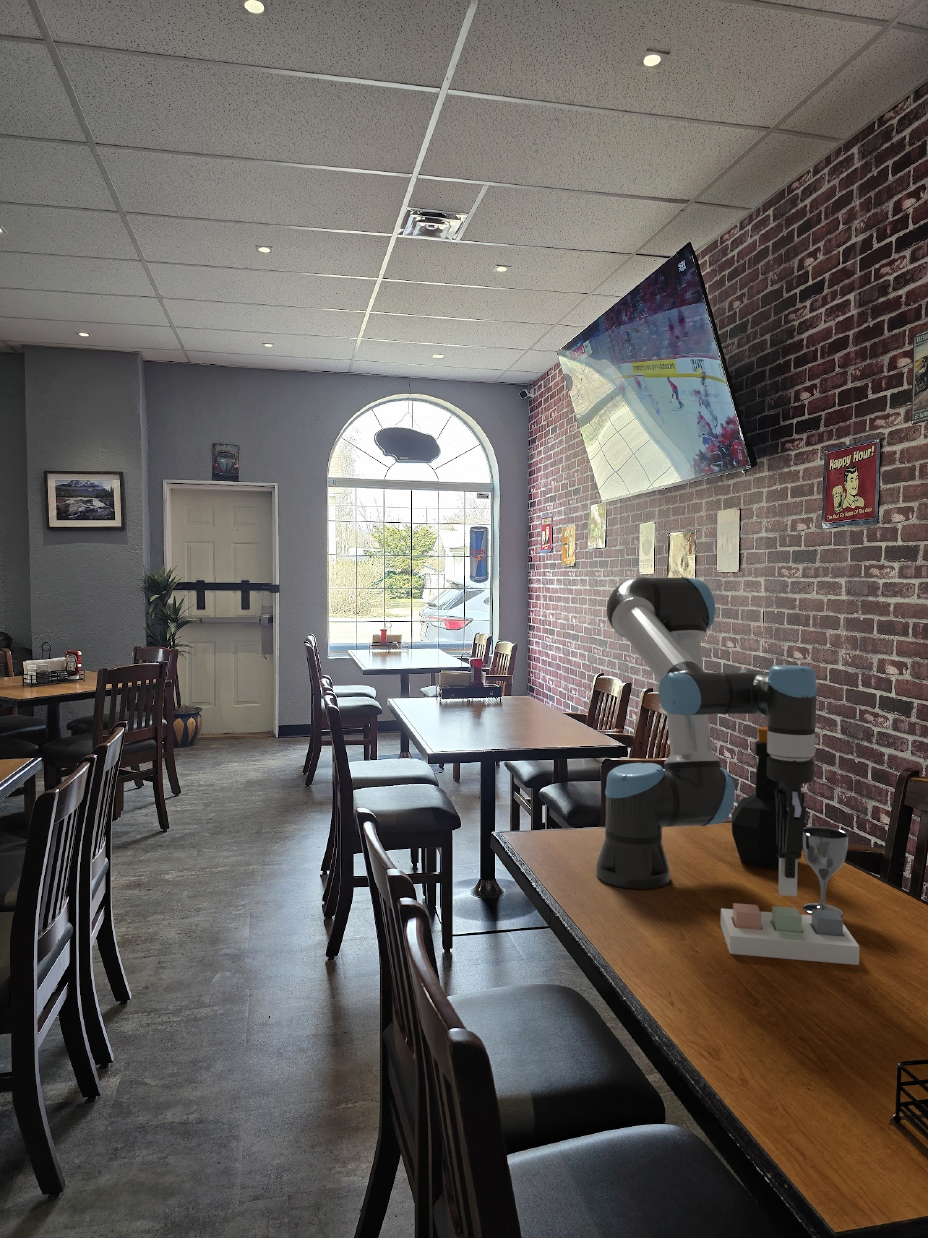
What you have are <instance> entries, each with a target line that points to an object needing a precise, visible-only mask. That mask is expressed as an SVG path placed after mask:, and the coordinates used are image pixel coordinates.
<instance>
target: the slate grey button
mask: <svg viewBox="0 0 928 1238" xmlns="http://www.w3.org/2000/svg"><path fill="white" fill-rule="evenodd" d="M811 916H812V923H811V927H812V929H813V930H814V932H815V934H819V935H831V936H843V924H844V920H843V918H842V917H840V915H839V914H838V912H837V911H828V910H815V909H812V915H811Z"/></svg>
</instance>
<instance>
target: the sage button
mask: <svg viewBox="0 0 928 1238" xmlns="http://www.w3.org/2000/svg"><path fill="white" fill-rule="evenodd" d="M771 912H772V926H773V928H774V930H775V931H782V932H795V933H801V931H802V916H801V915H802V914H801V913H800V912H799V909H798V908H797V907H787V906H775V905H774V906H773V905H772V907H771Z"/></svg>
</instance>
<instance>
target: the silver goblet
mask: <svg viewBox="0 0 928 1238" xmlns="http://www.w3.org/2000/svg"><path fill="white" fill-rule="evenodd" d="M848 843H849V834H848V833H847V832H846V831H844V830H841V829H837V828H834V827H828V826H818V825H817V826H816V825H815V826H814V825H812V826H807V827H805V828H803V840H802V847H803V849H802V851H803V857H804V859H805V861H806V863H807V864H808V865H809V867H810V868H811V869H812V870H813V872H814V874H816V877H817V878H818V880H819V887H820V902H819V903H816V902H814V903H813V902H812V903H810V902H809V903H805V904H804V905H803V906H802V910H803V911H804V912H805V913H807V914H808V915H811V916H812V909H815V910H828V911H837V912H838V914H839V915H840V917H841V918H842V917H843V916H844V912H843V910H841V909H840V908H838V907H835V906H833V905H830V904H826V903H827V902H826V893H827V885H828V883H829V881H830V878H831V877H832V876H833V875H834V874H835V873H836V872H837V871H838V870H839V869H840V868H841V867H842V866H843V865H844V863H845V860H846V856H847V852H848Z"/></svg>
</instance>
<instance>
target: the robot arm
mask: <svg viewBox="0 0 928 1238" xmlns="http://www.w3.org/2000/svg"><path fill="white" fill-rule="evenodd" d="M709 587H710V586H708V585H707V584H706V583H705V582H704V581H702V580H701V579H698V578H689V577H685V576H684V577H683V576H681V577H648V576H647V577H646V576H637V577H633V578H629V579H627V580H625V581H623V582H621V583H620V584H618V585H617V586H616V587H615V589H614V590H613V591H612V592H611V594H610V596H609V597H608V600H607V603H606V604H607V605H606V617H607V619H608V622H609V625H610V626H611V628H612V629H613V631H614V632H615V633H616V634H617V635H618V636H620V637H622V638H625V639H626V640H627V641H628V642H629V643H630V645H631V646H632V647H633V649H634V650H635V651H636V653H637V654H638V655H639V657H641V659H642V661H644V663H645V664H646V666H647V667H648V668H649V670H650V671H651V672H652V673H653V675H654V676H655V677H656V679H657V680H658V681H659V684H658V689H657V690H658V694H657V695H658V699H659V701H660V706H661V708H662V709H663V711H664V712H666V720H667V728H668V729H667V730H668V742H669V751H670V753H669V756H668V757H667V758H666V759H665V761H664V762H663V764H664V765H663V766H664V768H663V767H662V765H660V764H657V763H653V762H633V763H632V762H631V763H625V764H621V765H617V766H615V767H614V768H613V769H611V770H610V771H609V772H608V773H607V776H606V786H605V791H604V793H605V831H604V832H605V834H604V835H605V836H604V837H605V838H604V842H603V845H602V847H601V849H600V854H599V855H598V859H597V861H596V868H595V869H596V871H595V872H596V873H595V876H596V877H597V878H598V879H599V880H600V879H601V880H600V881H601V882H604V883H606V884H609V885H611V886H614V887H618V888H623V889H624V888H625V889H632V890H652V889H657V888H661V887H664V886H666V885H667V884H669V883H670V880H671V879H670V877H671V874H670V873H671V872H670V866H669V863H668V859H667V855H666V853H665V849H664V845H663V842H662V841H663V838H662V837H663V828H668V827H669V828H670V827H671V828H673V827H674V828H675V827H694V826H695V827H696V826H697V827H698V826H700V827H708V826H711V825H720V824H722V823H723V822H725V821H726V820H727V819H728V818H729V817H730V814H732V812H733V807H734V803H735V797H736V796H735V795H736V792H735V791H736V790H735V789H736V788H735V783H734V779H733V778H732V775H731V774H730V772H729V771H728V770H726V769H725V768H722V767H721V759H720V758H718V757H717V756H716V755H715V754H714V753H713V751H712V745H711V744H712V743H711V741H712V740H711V733H710V731H711V730H710V724H709V715H750V714H751V715H762V716H765V717H767V727H768V730H767V752H768V753H769V754H771V755H770V756H768V758H767V777H768V778H769V779H771V780H774V781H778V782H779V788H776V789H775V791H774V794H775V800H776V834H777V841H776V844H777V846H778V847H779V848H778V851H779V853H777V856H778V858H779V870H778V885H777V886H778V889H777V890H778V891H777V893H778V894H779V896H784V897H785V896H787V897H797V896H798V863H799V859H802V851H803V849H802V840H803V828H804V822H805V817H806V813H807V807H806V805H804V804H805V800H806V799H805V796H806V795H805V792H802V785H803V784H811V783H813V781H815V764H816V762H815V761H814V759H813V757H814V756H815V751H816V750H815V747H816V746H815V745H816V744H818V743H819V739H818V738H817V737H816V736H815V735H816V723H817V722H816V717H817V697H818V696H817V694H818V688H817V673H816V670H815V669H814V668H813V667H810V666H806V665H797V664H776V665H772V666H770V668H769V670H768V672H763V671H760V670H757V669H755V670H754V669H753V670H748V669H747V670H740V671H739V672H738V671H737V672H735V671H733V672H729V671H728V672H721V671H719V672H713V671H712V672H709V671H708V672H707V671H704V665H703V654H702V646H701V645H702V641H703V640H704V639H705V638H706V637H707V634H708V633H707V630H708V629H710V628H711V627H712V625H714V621H715V615H716V603H715V602H716V601H715V600H714V595H713V593H712V591H711V589H710V588H709ZM798 858H799V859H798Z"/></svg>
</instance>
